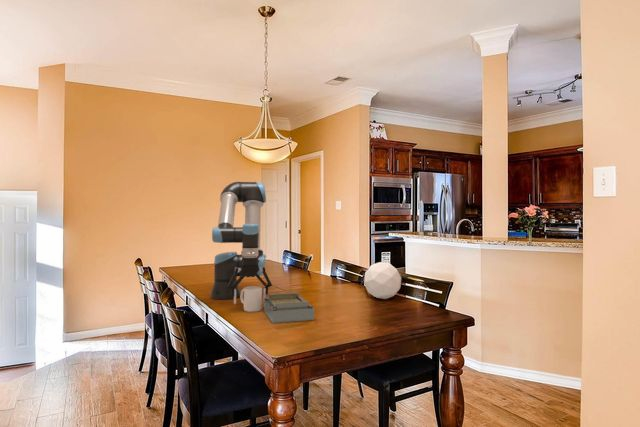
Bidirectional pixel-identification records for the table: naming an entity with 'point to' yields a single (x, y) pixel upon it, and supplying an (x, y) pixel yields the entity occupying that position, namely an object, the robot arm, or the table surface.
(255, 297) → the cup
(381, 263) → the geometric sphere
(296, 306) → the silver and gold block
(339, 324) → the table surface
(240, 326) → the table surface
